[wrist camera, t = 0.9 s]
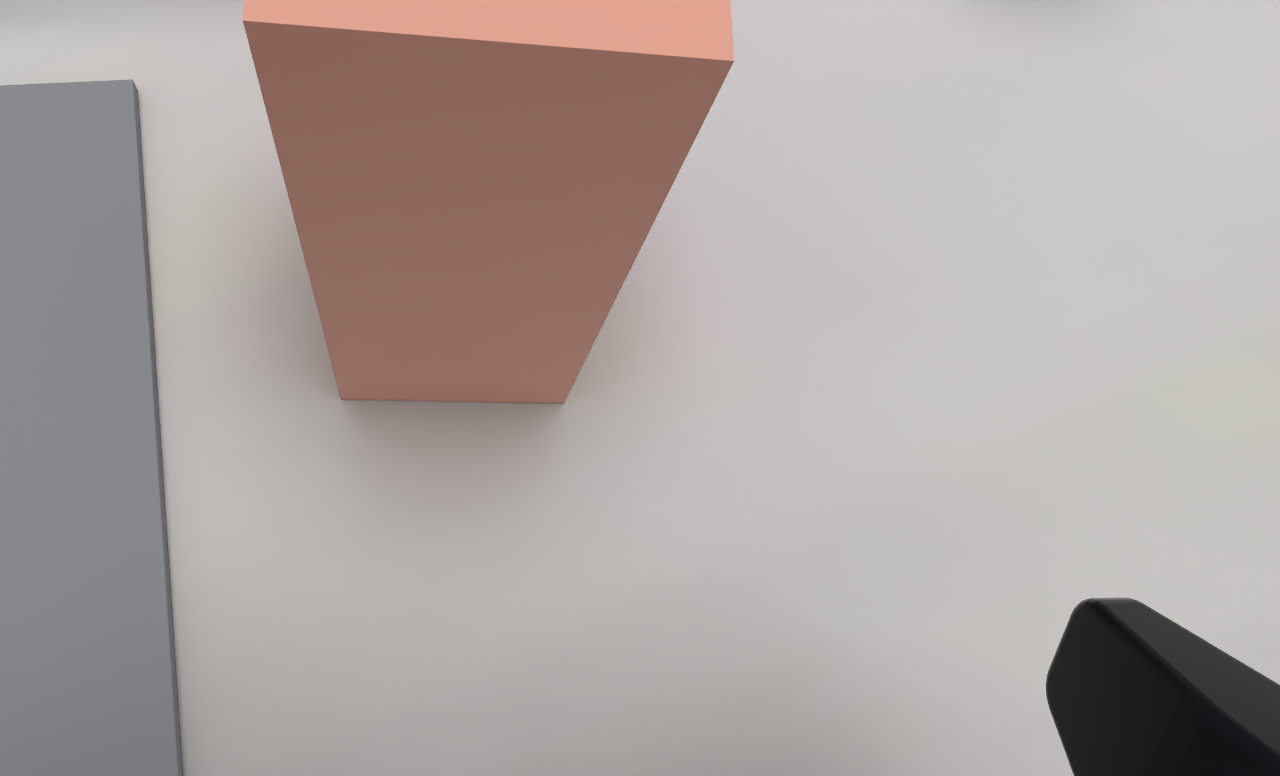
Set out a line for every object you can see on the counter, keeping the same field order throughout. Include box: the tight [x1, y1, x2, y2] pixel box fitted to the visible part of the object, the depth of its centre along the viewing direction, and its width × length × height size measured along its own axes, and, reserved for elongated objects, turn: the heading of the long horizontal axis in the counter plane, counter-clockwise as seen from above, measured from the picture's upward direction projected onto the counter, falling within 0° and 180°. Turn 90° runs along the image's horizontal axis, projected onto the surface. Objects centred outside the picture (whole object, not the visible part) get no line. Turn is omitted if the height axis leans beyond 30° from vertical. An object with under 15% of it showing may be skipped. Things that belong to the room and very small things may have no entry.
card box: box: [243, 0, 734, 403], centre depth 17 cm, size 5×4×13 cm
